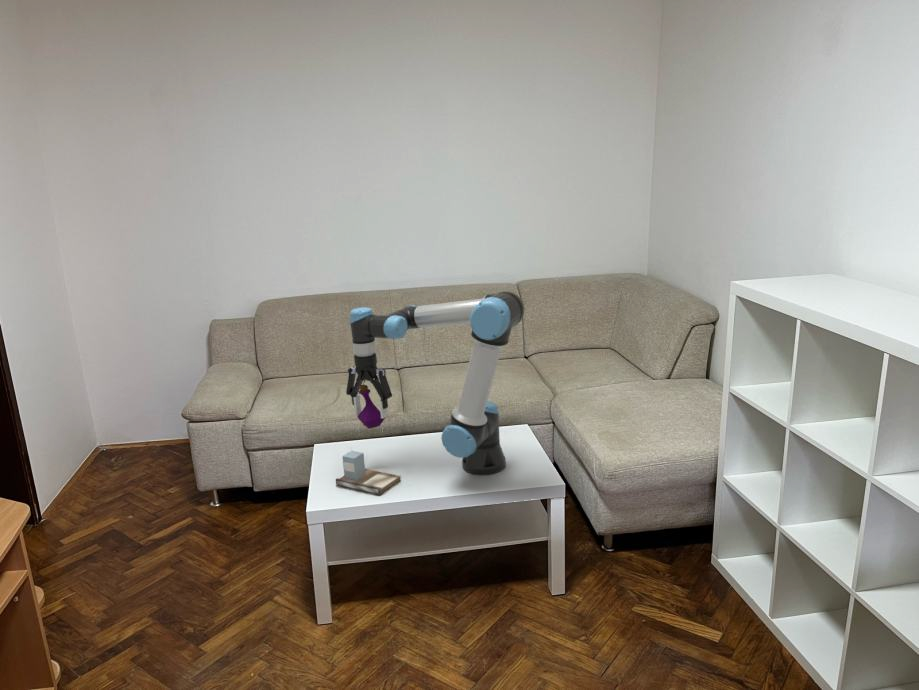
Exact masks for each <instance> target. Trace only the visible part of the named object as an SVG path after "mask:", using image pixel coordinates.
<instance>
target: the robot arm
mask: <svg viewBox="0 0 919 690" xmlns="http://www.w3.org/2000/svg"><path fill="white" fill-rule="evenodd" d="M524 315H525V305H524V302H523V299H522V297H520V296H519V295H518V294H517V293H515V292H513V291H508V290H506V291H500V292H496V293H492V294H485V295H484V296H483V298H476V299H468V300H459V301H450V302H449V301H448V302H442V303H441V302H440V303H435V304H433V303H432V304H425V305H424V304H423V305H406V306H404V307H402V308H401V309H398V310H395V311H393V312H391V313H387V314H385V315H381V314H379V315H378V314H377V315H376V314H373V310H372V308H371V307H356V308H353V309H352V310H351V311H350V312H349V318H350V319H349V320H350V322H349V324H350V330H351V331H350V332H351V337H352V351H353V354H354V355H353V361H354V362H353V363H354V365H355V366H352V367H349V368H348V369H347V371H348V372H347V373H348V377H347V378H348V379H347V385H346V392H345V394H346V395H348V396H351V401H352V402H351V403H352V406H354V415H355V416H358V415H359V414H360V413H361V411H362V406H361V405H362V404H361V398H360V395H361V394H359V391H360V387H359V386H360V385H363V383H364V380H366V379H367V380H366V381H367V382H368V381H369V382H370V383H371V384H372V386H373V388H374V389H375V391H376V393H377V394H378V396H379V398H380V399H379V401H378V402H379V411H380V413H381V418H382V419H383V418H385V419H386V418H387V416H388V412H387V411H388V410H387V409H388V407H389V404H388V399H390V398H391V397H392V396H393V393H392V391H391V388H390V384H389V381H388V378H387V373H386V372H387V371H386V369H385V368H383V369H378V367H377V363H378V360H377V353H376V352H377V351H376V339H389V340H390V339H391V340H396V339H397V340H398V339H403V338H404V337H406V336H405V335H406V334H407V332H408V331H410V330H415V329H421V328H422V329H423V328H433V327H442V326H444V327H445V326H453V325H461V324H469V326H470V327H471V334H470V336H471V338H472V339H473V341H474V342H473V345H472V350H471V354H470V358H469V362H468V365H467V371H466V374H465V377H464V382H463V386H462V391H461V394H460V398H459V403H458V406H456V407H454V409H452V412H451V416H450V419H449V424H448V425H447V426H446V427H445V428H444V429H443V430H442V433H441V442H442V445H443V447H444V448H445V450H446V451H447V452H448V453H449V454H450V455H452V456H453V457H456V458H458V459H459V458H460V459H461V458H462V459H461V463H462V466H461V467H462V469H463V470H464V471H465V472H466V473H469V474H473V475H480V476H481V475H483V476H484V475H492V474H497V473H499V472H501V471H503V470H504V469H505V468H506V466H507V461H506V457H505V454H504V452H503V449H502V447H501V443H500V442H501V441H500V440H501V439H500V417H499V415H500V413H499V407H498V405H497V404H496V403H495V402H492V401H489V400H488V399H489V396H490V393H491V390H492V389H491V388H492V385H493V381H494V377H495V374H496V370H497V366H498V362H499V359H500V355H501V350H502V348H504V347H506V346H507V345H508V343H509V340H510V336H511V332H512V329H513V328H514V327H516V326H517V325H518V324H520V322H521V321H522V319H523V318H524ZM375 338H376V339H375ZM356 374H357V377H356ZM373 379H374V380H373Z"/></svg>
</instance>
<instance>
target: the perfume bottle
mask: <svg viewBox="0 0 919 690" xmlns="http://www.w3.org/2000/svg"><path fill="white" fill-rule="evenodd" d="M373 380H374V379H373ZM366 381H367V379H366V380H363V382H362V384H361V385H360V386H359V387H360V389H359V392H358V393H359V394H358V395H361V396H362V397H363V398H364V402H365V406H364V407H363V409H361V413H360V414H359V415H356V417H357V419H358V420H359V421H360V422H361V424H362V425H363V426H364V427H366V428H367V429H368V430H369V429H373V428H377V427H378V428H379V427H380V426H381V425H382V423H383V422H384V421H385V419H386V417H385V418H383V419H382V418H381V413H380V409H379V408H378V407H377V406H376V405H375V404H374V402H373V400H372V399H371V396H370V393H371V390H370V389H369V386H368V385H367V384H365V382H366Z"/></svg>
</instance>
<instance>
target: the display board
mask: <svg viewBox="0 0 919 690" xmlns="http://www.w3.org/2000/svg"><path fill="white" fill-rule="evenodd" d="M365 474H366V475H365V476H363V477H362V478H360V479H358V480H357V481H355V480H351V479H346V478H345V476H344V475H343V476H341V477H339V478H338V477H337V478H335V486H336V487H338V488H342V489H346V490H347V489H348V490H350V491H356V492H359V493H365V494H368V495H369V494H370V495H373V496H378V497H381V496H382V495H383V494H385V493H386V492H388V491H389V490H390V489H392V488H394V487H395V486H396V485H398V484H399V483H400V482H401V475H397V474H392V473H388V472H383V471H378V470H372V469H369V468H365Z"/></svg>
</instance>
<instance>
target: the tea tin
mask: <svg viewBox="0 0 919 690" xmlns="http://www.w3.org/2000/svg"><path fill="white" fill-rule="evenodd" d="M364 455H365V454H364V452H361V451H355V450H351V451H349V452H347V453H345V454H343V455H342V458H341V459H342V466H343V474H344V475H343V476H345V478H346V479H351V480H355V481H357V480H358V479H360V478H362V477H363V476H365V475H366V474H365V469H366V465H365V456H364Z"/></svg>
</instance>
